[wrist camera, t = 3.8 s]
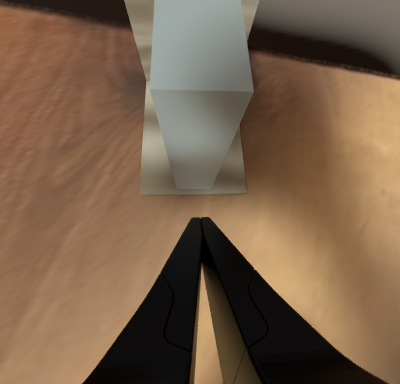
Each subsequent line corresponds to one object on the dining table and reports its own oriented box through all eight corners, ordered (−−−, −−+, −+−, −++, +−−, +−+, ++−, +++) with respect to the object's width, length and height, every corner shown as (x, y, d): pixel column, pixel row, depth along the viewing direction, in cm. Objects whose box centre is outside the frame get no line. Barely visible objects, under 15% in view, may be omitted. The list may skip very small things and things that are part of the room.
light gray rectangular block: (218, 188, 17) (275, 92, 6) (176, 189, 17) (149, 89, 5) (214, 137, 19) (254, -20, 7) (177, 137, 19) (155, -27, 7)
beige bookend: (245, 193, 18) (309, 144, 8) (140, 195, 17) (78, 143, 8) (232, 76, 22) (266, -48, 12) (148, 74, 21) (113, -60, 12)
